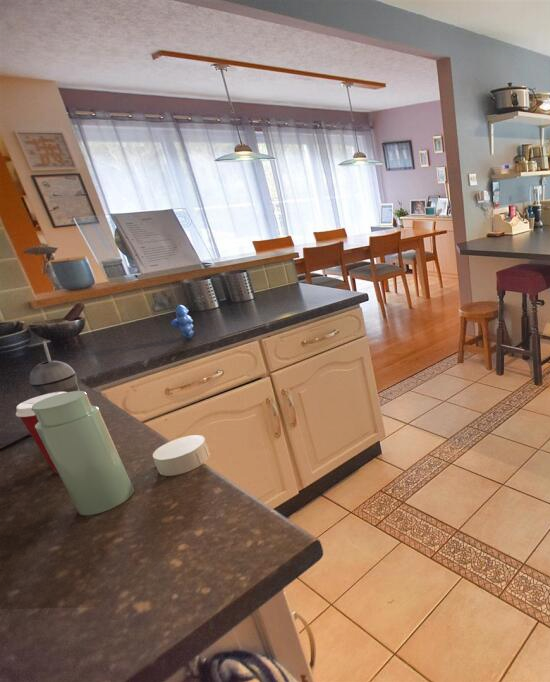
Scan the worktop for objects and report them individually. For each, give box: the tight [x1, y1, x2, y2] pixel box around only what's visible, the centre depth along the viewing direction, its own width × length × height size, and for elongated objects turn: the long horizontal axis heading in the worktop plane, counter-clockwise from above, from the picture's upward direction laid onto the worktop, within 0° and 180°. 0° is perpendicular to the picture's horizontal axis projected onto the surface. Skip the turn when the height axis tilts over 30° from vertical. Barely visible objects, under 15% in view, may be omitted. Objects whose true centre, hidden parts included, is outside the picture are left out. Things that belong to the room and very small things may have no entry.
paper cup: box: [15, 392, 66, 474], centre depth 82 cm, size 8×8×14 cm
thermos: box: [31, 390, 135, 516], centre depth 70 cm, size 7×7×19 cm
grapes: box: [169, 304, 195, 340], centre depth 157 cm, size 12×7×12 cm, turn 32°
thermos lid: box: [152, 434, 211, 477], centre depth 82 cm, size 8×8×4 cm
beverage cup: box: [29, 340, 80, 396], centre depth 96 cm, size 7×7×20 cm
